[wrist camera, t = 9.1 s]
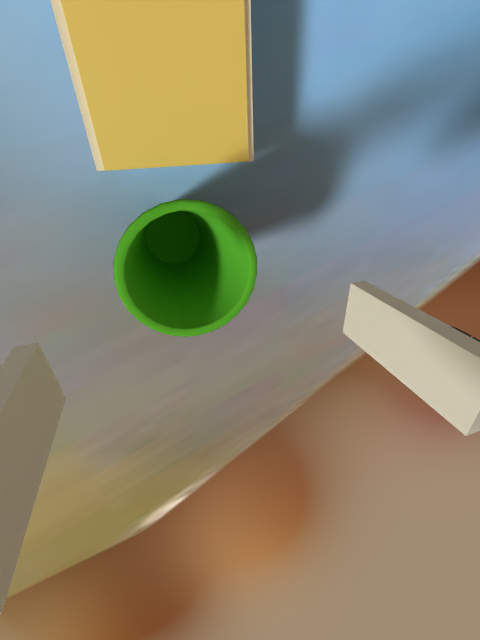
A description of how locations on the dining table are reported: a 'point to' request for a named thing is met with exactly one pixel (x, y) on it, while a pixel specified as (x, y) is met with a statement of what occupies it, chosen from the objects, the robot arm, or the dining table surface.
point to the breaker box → (161, 79)
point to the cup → (185, 267)
